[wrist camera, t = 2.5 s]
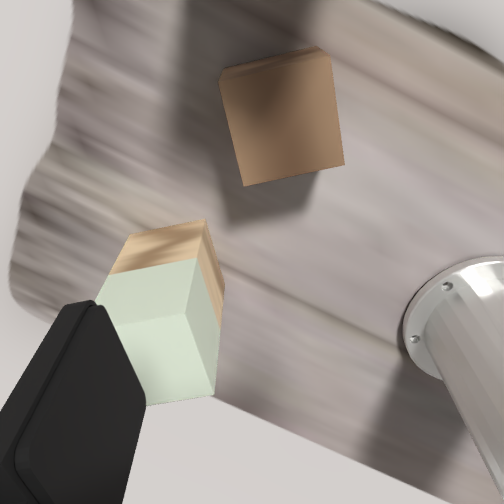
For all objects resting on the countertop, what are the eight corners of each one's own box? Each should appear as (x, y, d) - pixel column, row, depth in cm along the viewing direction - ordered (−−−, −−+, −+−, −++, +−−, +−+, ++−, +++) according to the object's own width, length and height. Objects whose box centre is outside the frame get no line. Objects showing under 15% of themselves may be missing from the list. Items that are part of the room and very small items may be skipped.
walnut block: (315, 45, 29) (330, 55, 24) (329, 138, 32) (344, 164, 27) (223, 68, 30) (217, 82, 24) (245, 156, 33) (243, 186, 27)
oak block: (205, 218, 35) (196, 257, 29) (224, 284, 38) (220, 330, 32) (129, 234, 35) (108, 275, 30) (154, 297, 38) (138, 345, 33)
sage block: (196, 257, 29) (184, 313, 24) (220, 330, 32) (214, 394, 27) (108, 275, 30) (78, 333, 25) (139, 345, 33) (117, 410, 28)
